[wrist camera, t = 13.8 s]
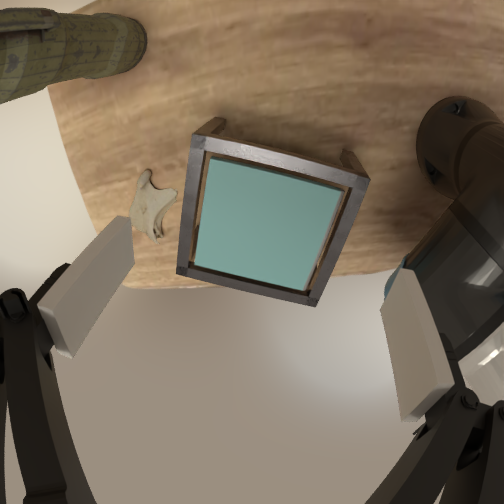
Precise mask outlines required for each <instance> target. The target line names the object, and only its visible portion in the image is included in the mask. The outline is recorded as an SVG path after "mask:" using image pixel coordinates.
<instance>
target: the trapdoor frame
mask: <svg viewBox="0 0 504 504" xmlns="http://www.w3.org/2000/svg"><path fill="white" fill-rule="evenodd" d="M225 121H226V119H224V118H219V117H214V118H213V119H211V120H210V121H209V122H207V123H206V124H205V125H203V126H202V127H201V128H199V129H198V130H197V131H195V132H194V133H193V134H192V139H191V145H190V152H189V159H188V166H187V174H186V182H185V189H184V198H183V206H182V215H181V225H180V234H179V245H178V256H177V268H176V274H178V275H182V276H185V277H189V278H193V279H197V280H201V281H205V282H209V283H213V284H217V285H221V286H225V287H229V288H234V289H238V290H242V291H246V292H250V293H255V294H259V295H263V296H267V297H272V298H276V299H281V300H285V301H289V302H294V303H298V304H303V305H308V306H312V307H316V305H317V303H318V301H319V299H320V297H321V295H322V293H323V291H324V289H325V286H326V284H327V282H328V280H329V278H330V275H331V273H332V271H333V269H334V267H335V264H336V262H337V260H338V258H339V255H340V253H341V251H342V248H343V246H344V244H345V241H346V239H347V237H348V234H349V232H350V230H351V227H352V225H353V222H354V220H355V218H356V215H357V213H358V210H359V208H360V205H361V203H362V200H363V198H364V195H365V193H366V190H367V187H368V185H369V182H370V180H371V179H370V178H369V176H368V175H367V173H366V171H365V170H364V168H363V167H362V165H361V163H360V162H359V160H358V159H357V157H356V156H355V154H354V153H353V152H351V151H348V150H345V149H343V150H342V153H341V156H340V161H341V163H342V165H343V167H342V166H339V165H336V164H332V163H329V162H325V161H322V160H319V159H315V158H312V157H308V156H304V155H301V154H297V153H293V152H289V151H285V150H282V149H278V148H274V147H270V146H265V145H261V144H257V143H253V142H248V141H244V140H239V139H235V138H230V137H225V136H220V135H219V134H220V133H221V132H222V131H223V130H224V126H225ZM207 151H211V152H215V153H220V154H225V155H229V156H234V157H238V158H243V159H247V160H251V161H256V162H260V163H264V164H268V165H272V166H276V167H280V168H284V169H288V170H292V171H295V172H299V173H303V174H307V175H310V176H314V177H317V178H321V179H324V180H328V181H331V182H335V183H338V184H342V185H345V186H348V187H349V189H348V191H347V194H346V197H345V199H344V202H343V205H342V207H341V210H340V213H339V215H338V218H337V220H336V223H335V226H334V228H333V231H332V233H331V236H330V238H329V241H328V243H327V246H326V248H325V251H324V253H323V256H322V258H321V260H320V263H319V265H318V268H317V264H316V267H315V269H314V271H313V274H312V276H311V279H310V281H309V283H308V286H307V288H306V290H305V291H302V290H298V289H293V288H289V287H285V286H281V285H276V284H272V283H268V282H263V281H259V280H255V279H251V278H247V277H243V276H238V275H234V274H230V273H226V272H222V271H218V270H214V269H210V268H206V267H202V266H198V265H194V264H195V262H194V260H195V256H196V249H197V241H198V234H199V227H200V226H198V225H197V227H196V229H195V225H196V218H197V211H198V204H199V197H200V190H201V183H202V177H203V171H204V164H205V158H206V152H207Z"/></svg>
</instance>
